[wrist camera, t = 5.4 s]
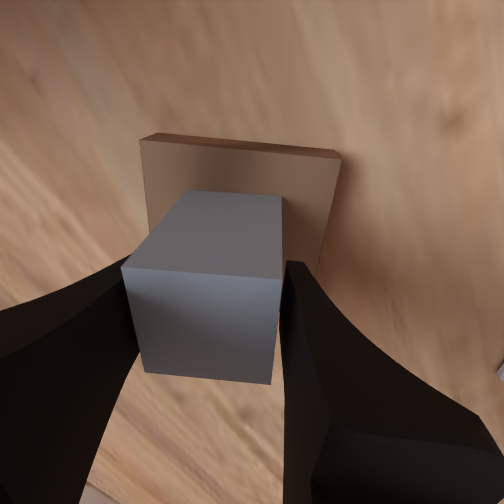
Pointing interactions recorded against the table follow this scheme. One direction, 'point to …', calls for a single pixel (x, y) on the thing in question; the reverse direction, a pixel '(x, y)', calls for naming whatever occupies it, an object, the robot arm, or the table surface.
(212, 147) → the walnut slab
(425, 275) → the table surface
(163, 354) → the blue block
